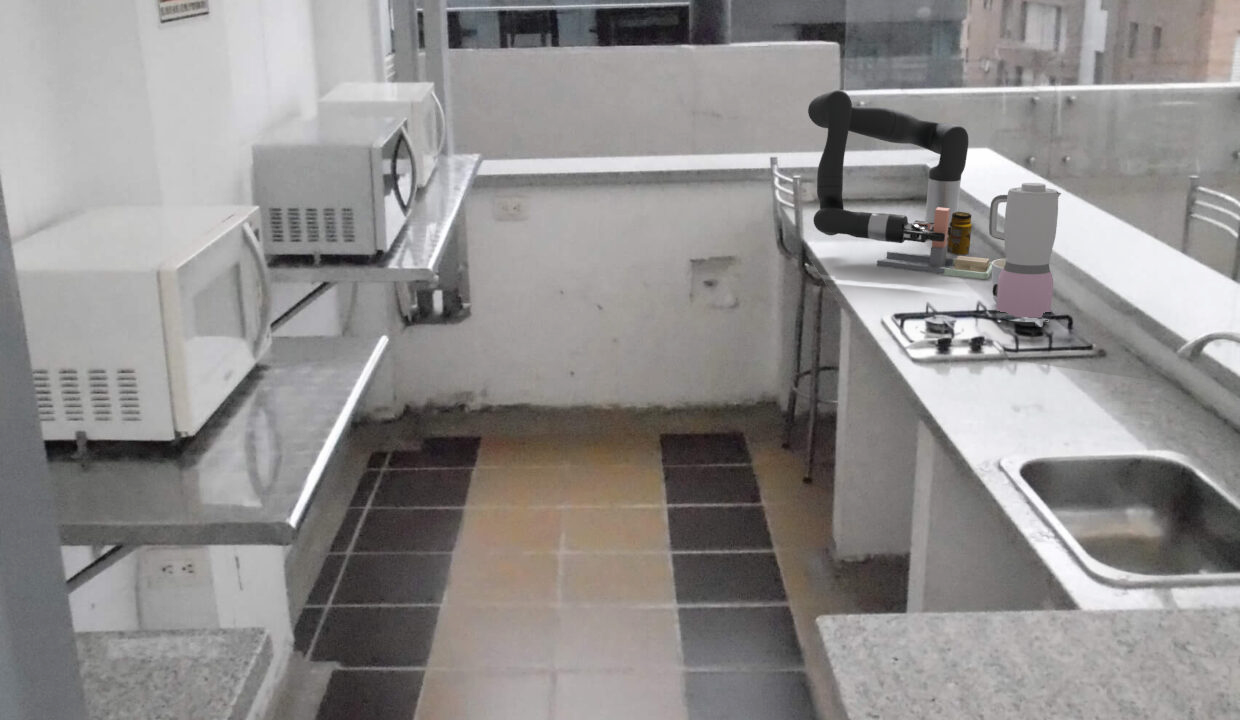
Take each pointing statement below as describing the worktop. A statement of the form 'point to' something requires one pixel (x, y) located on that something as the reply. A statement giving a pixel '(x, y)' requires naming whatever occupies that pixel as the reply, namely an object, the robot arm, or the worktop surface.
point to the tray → (969, 272)
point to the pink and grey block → (939, 247)
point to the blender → (1026, 249)
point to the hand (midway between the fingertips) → (948, 234)
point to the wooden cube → (963, 263)
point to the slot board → (912, 262)
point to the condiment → (960, 233)
